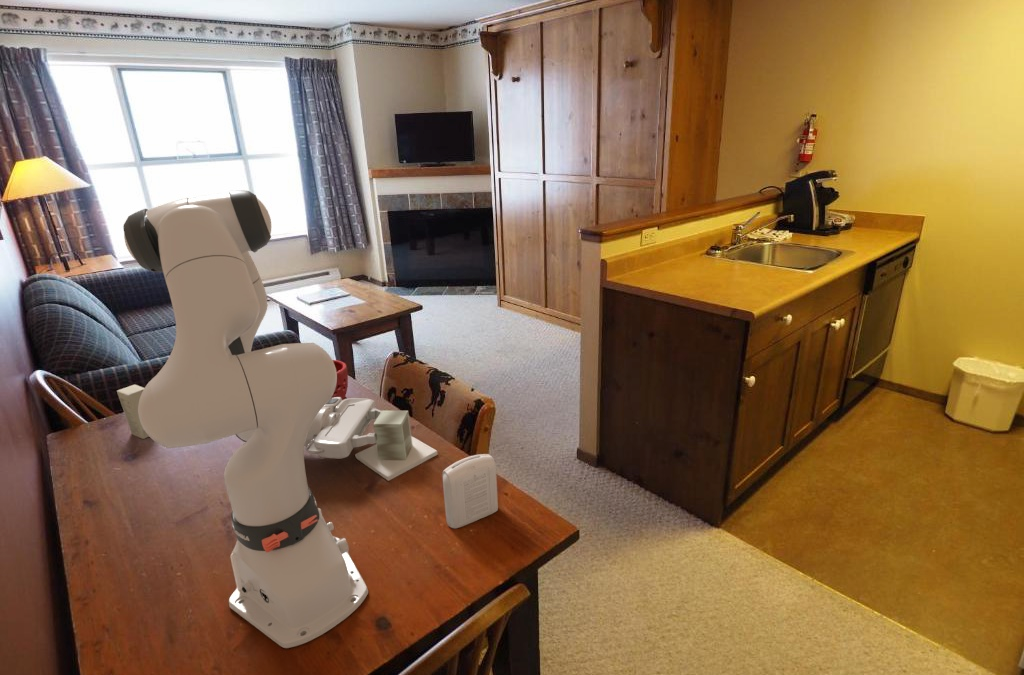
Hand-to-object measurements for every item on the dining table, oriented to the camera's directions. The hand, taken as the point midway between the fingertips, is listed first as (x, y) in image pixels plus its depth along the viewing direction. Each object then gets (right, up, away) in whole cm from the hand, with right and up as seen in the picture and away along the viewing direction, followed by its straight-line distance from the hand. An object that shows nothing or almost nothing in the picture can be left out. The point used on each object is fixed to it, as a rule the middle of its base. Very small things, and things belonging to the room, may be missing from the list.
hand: (382, 426), depth 119 cm
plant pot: (-21, 0, +26) cm, 33 cm away
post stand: (+3, -7, +2) cm, 8 cm away
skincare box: (-64, -5, +18) cm, 67 cm away
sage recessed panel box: (+2, -6, +2) cm, 7 cm away
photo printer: (+21, -14, -17) cm, 31 cm away
